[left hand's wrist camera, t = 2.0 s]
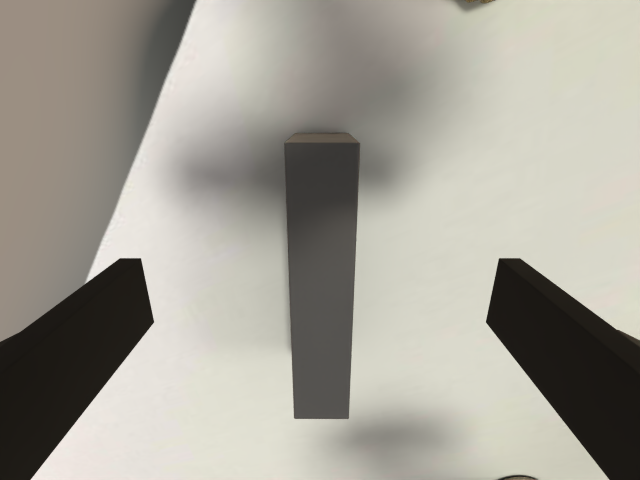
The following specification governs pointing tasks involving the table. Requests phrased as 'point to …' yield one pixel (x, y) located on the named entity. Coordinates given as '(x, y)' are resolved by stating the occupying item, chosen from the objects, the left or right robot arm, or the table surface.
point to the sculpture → (483, 0)
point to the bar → (321, 268)
